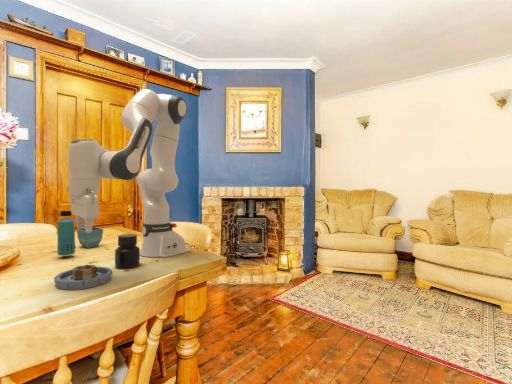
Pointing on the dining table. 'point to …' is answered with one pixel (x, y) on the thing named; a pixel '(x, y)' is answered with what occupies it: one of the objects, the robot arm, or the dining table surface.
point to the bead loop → (84, 272)
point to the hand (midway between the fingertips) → (84, 230)
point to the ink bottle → (127, 252)
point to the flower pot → (90, 237)
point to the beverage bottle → (66, 235)
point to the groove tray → (67, 282)
